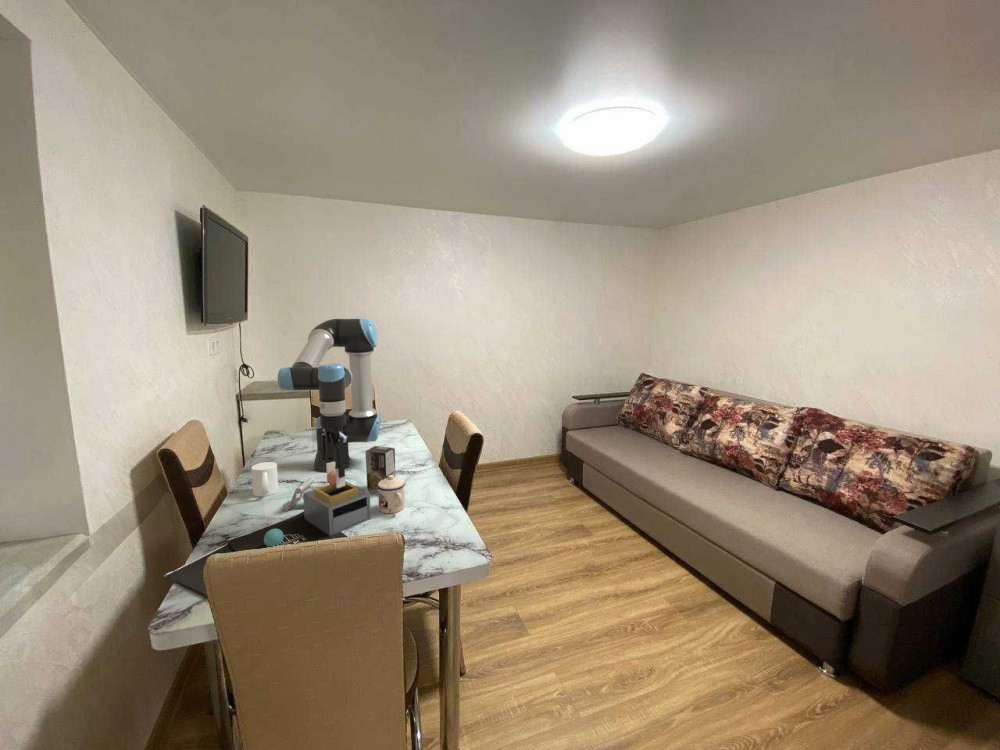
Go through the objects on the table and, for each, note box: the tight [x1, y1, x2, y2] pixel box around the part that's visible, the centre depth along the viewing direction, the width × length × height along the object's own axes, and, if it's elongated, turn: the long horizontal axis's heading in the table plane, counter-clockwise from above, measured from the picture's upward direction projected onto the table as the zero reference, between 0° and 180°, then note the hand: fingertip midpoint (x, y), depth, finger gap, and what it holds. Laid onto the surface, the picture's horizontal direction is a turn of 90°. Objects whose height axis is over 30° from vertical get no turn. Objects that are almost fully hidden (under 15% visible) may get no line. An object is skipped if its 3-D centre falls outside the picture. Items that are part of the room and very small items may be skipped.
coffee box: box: [365, 445, 397, 494], centre depth 156 cm, size 9×6×16 cm
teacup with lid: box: [377, 475, 406, 514], centre depth 141 cm, size 12×9×12 cm
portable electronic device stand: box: [282, 477, 315, 512], centre depth 143 cm, size 9×8×8 cm
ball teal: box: [263, 528, 285, 548], centre depth 118 cm, size 5×5×5 cm
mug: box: [250, 461, 279, 497], centre depth 152 cm, size 8×10×12 cm
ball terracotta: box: [326, 470, 336, 486], centre depth 132 cm, size 5×5×5 cm
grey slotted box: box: [302, 480, 372, 537], centre depth 133 cm, size 16×14×10 cm
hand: (336, 484), depth 132 cm, fingers closed on ball terracotta, 5 cm apart
